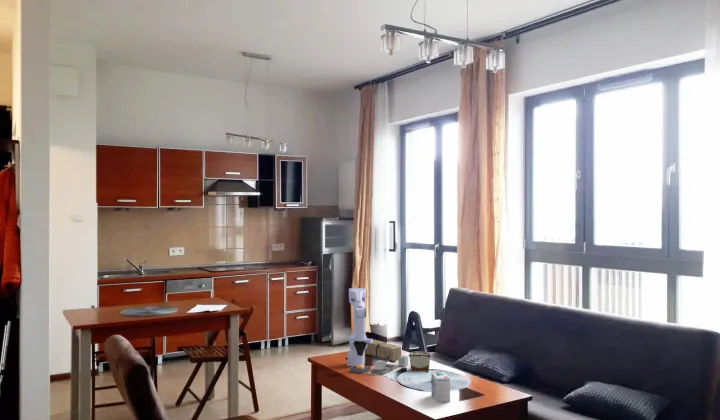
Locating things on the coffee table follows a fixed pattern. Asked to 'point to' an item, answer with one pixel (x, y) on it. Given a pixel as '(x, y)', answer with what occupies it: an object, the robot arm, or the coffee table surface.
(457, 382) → the coffee table surface
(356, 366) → the button
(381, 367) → the seated billet
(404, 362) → the billet
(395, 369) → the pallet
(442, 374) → the light bulb box
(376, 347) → the block tower
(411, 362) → the food container
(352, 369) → the button housing
